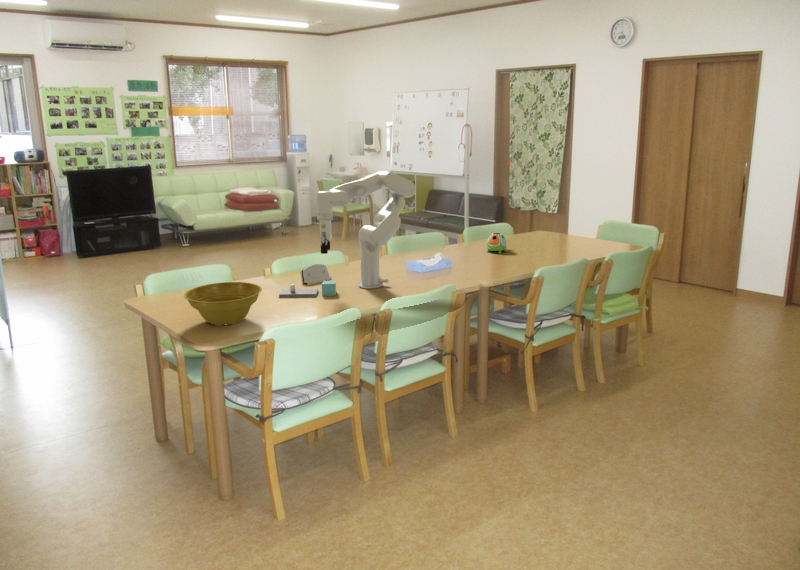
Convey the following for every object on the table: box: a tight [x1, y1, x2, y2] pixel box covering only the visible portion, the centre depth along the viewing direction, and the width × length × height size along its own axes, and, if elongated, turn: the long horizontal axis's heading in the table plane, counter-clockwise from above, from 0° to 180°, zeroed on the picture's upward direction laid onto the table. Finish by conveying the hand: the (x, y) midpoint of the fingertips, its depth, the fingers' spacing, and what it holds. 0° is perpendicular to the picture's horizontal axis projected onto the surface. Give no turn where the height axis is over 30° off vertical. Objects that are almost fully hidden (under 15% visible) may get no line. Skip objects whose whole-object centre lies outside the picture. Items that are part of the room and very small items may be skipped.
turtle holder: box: [486, 232, 507, 254], centre depth 421 cm, size 12×18×12 cm
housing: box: [321, 280, 337, 297], centre depth 324 cm, size 6×6×6 cm
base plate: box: [278, 283, 319, 298], centre depth 324 cm, size 18×10×5 cm, turn 91°
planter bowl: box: [183, 281, 263, 326], centre depth 282 cm, size 32×32×13 cm
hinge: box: [300, 263, 332, 286], centre depth 350 cm, size 17×5×10 cm, turn 136°
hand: (325, 251), depth 321 cm, fingers open, 9 cm apart
